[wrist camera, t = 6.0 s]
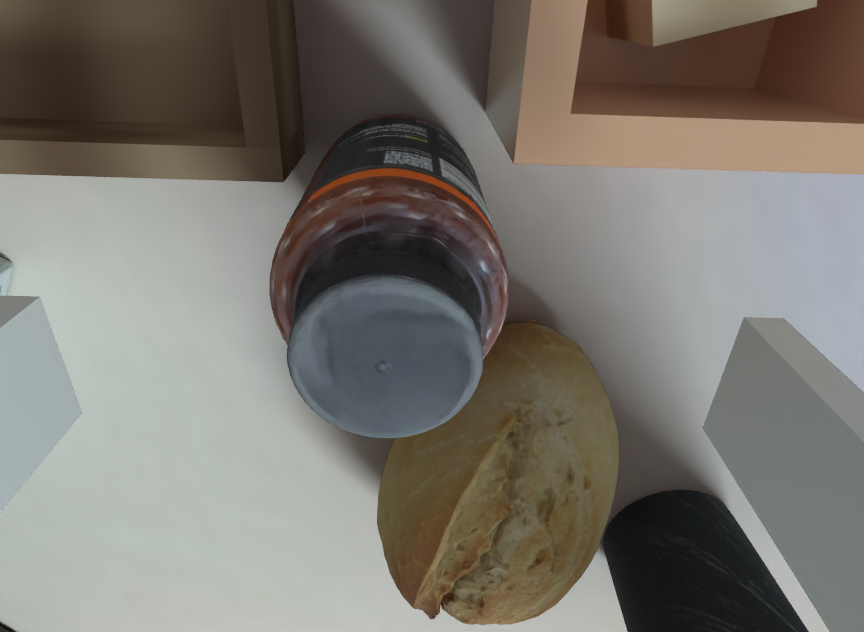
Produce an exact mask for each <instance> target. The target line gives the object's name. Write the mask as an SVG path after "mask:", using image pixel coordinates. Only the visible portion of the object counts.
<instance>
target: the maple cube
mask: <svg viewBox="0 0 864 632" xmlns="http://www.w3.org/2000/svg"><path fill="white" fill-rule="evenodd" d="M813 7H817V0H605V9H606V25H607V37H611V38H615V39H620V40H624V41H629V42H633V43H638V44H642V45H647V46H651V47H655V46H659V45H663V44H667V43H671V42H675V41H679V40H683V39H687V38H691V37H695V36H699V35H704V34H708V33H712V32H716V31H720V30H724V29H728V28H732V27H736V26H740V25H744V24H748V23H752V22H756V21H760V20H764V19H768V18H772V17H777V16H781V15H785V14H789V13H793V12H797V11H801V10H805V9H809V8H813Z"/></svg>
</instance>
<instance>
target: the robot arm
mask: <svg viewBox="0 0 864 632" xmlns="http://www.w3.org/2000/svg"><path fill="white" fill-rule="evenodd" d="M81 414H82V411H81V408H80V405H79V402H78V400H77V397H76V394H75V391H74V389H73V386H72V383H71V381H70V378H69V375H68V372H67V370H66V367H65V364H64V361H63V359H62V356H61V353H60V351H59V348H58V345H57V342H56V340H55V337H54V334H53V331H52V329H51V326H50V323H49V321H48V318H47V315H46V312H45V310H44V307H43V304H42V301H41V299H40V297H30V296H0V512H1V511H2V510H3V509H4V508H5V506H6V505H7V504H8V503H9V501H10V500H11V499H12V498H13V497H14V495H15V494H16V493H17V492H18V491H19V489H20V488H21V487H22V486H23V484H24V483H25V482H26V481H27V480H28V478H29V477H30V476H31V475H32V473H33V472H34V471H35V470H36V469H37V467H38V466H39V465H40V464H41V462H42V461H43V460H44V459H45V458H46V456H47V455H48V454H49V453H50V451H51V450H52V449H53V448H54V447H55V445H56V444H57V443H58V442H59V440H60V439H61V438H62V437H63V436H64V434H65V433H66V432H67V431H68V429H69V428H70V427H71V426H72V425H73V423H74V422H75V421H76V420H77V418H78V417H79V416H80V415H81ZM703 429H704V431H705V432H706V434H707V436H708V437H709V439H710V440H711V442H712V444H713V445H714V447H715V448H716V450H717V452H718V453H719V455H720V456H721V458H722V460H723V461H724V463H725V464H726V466H727V468H728V469H729V471H730V472H731V474H732V476H733V477H734V479H735V480H736V482H737V484H738V485H739V487H740V488H741V490H742V492H743V493H744V495H745V496H746V498H747V500H748V501H749V503H750V504H751V506H752V508H753V509H754V511H755V512H756V514H757V516H758V517H759V519H760V520H761V522H762V524H763V525H764V527H765V528H766V530H767V532H768V533H769V535H770V536H771V538H772V540H773V541H774V543H775V544H776V546H777V548H778V549H779V551H780V553H781V554H782V556H783V557H784V559H785V561H786V562H787V564H788V565H789V567H790V569H791V570H792V572H793V573H794V575H795V577H796V578H797V580H798V581H799V583H800V585H801V586H802V588H803V589H804V591H805V593H806V594H807V596H808V597H809V599H810V601H811V602H812V604H813V605H814V607H815V609H816V610H817V612H818V613H819V615H820V617H821V618H822V620H823V621H824V623H825V625H826V626H827V628H828V629H829V631H830V632H864V392H863V391H862V390H861V389H859V388H858V387H857V386H856V385H855V384H854V383H853V382H852V381H851V380H850V379H849V378H848V377H847V376H845V375H844V374H843V373H842V372H841V371H840V370H839V369H838V368H837V367H836V366H835V365H834V364H833V363H831V362H830V361H829V360H828V359H827V358H826V357H825V356H824V355H823V354H822V353H821V352H820V351H818V350H817V349H816V348H815V347H814V346H813V345H812V344H811V343H810V342H809V341H808V340H807V339H806V338H804V337H803V336H802V335H801V334H800V333H799V332H798V331H797V330H796V329H795V328H794V327H793V326H792V325H790V324H789V323H788V322H787V321H786V320H785V319H784V318H752V317H744V319H743V321H742V324H741V327H740V329H739V332H738V335H737V337H736V340H735V343H734V345H733V348H732V351H731V353H730V356H729V359H728V362H727V364H726V367H725V370H724V372H723V375H722V378H721V380H720V383H719V386H718V388H717V391H716V394H715V396H714V399H713V402H712V404H711V407H710V410H709V412H708V415H707V418H706V420H705V423H704V426H703ZM0 632H9V631H8V630H6V629H4V628H2V627H0Z"/></svg>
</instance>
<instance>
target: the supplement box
mask: <svg viewBox="0 0 864 632" xmlns="http://www.w3.org/2000/svg"><path fill="white" fill-rule="evenodd" d="M12 269H13V266H12V263H11V262H10V261H8V260H6V259H4V258H2V257H0V296H6V295H7V291H8V287H9V283H10V279H11V274H12Z"/></svg>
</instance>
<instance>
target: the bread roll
mask: <svg viewBox="0 0 864 632" xmlns="http://www.w3.org/2000/svg"><path fill="white" fill-rule="evenodd" d="M618 470H619V439H618V431H617V425H616V420H615V418H614V414H613V410H612V406H611V403H610V401H609V398H608V396H607V394H606V392H605V390H604V387H603V385H602V383H601V382H600V380H599V378H598V376H597V373H596V371H595V369H594V367H593V365H592V363H591V362H590V361H589V359H588V358H587V357H586V355H585V354H584V352H583V350H582V349H581V347H580V346H579V345H577V344H576V343H575V342H573V341H572V340H571V339H569V338H567V337H566V336H564V335H562V334H561V333H559V332H557V331H556V330H554V329H552V328H549V327H546V326H543V325H539V324H537V323H536V321H535V320H532V321H529V322H527V323H525V322H522V321H520V322H516V323H511V324H505V325H502V329H501V332H500V333H499V335H498V337H497V339H496V341H495V343H494V345H493V346H492V348H491V349H490V350H489V352H488V354H487V355H486V356H485V357H484V359H483V369H482V374H481V377H480V380H479V383H478V386H477V388H476V389H475V391H474V393H473V395H472V396H471V398H470V400H469V401H468V402H467V403H466V404H465V405H464V406H463V408H462V409H461V410H460V411H459V412H458V413H457V414H455V415H454V416H453V417H452V418H450V419H449V420H448V421H446V422H445V423H443V424H441V425H439V426H437V427H435V428H433V429H430V430H428V431H426V432H422V433H419V434H416V435H412V436H408V437H399V438H395V439H394V442H393V444H392V446H391V449H390V451H389V454H388V456H387V460H386V463H385V467H384V471H383V474H382V479H381V484H380V490H379V497H378V511H377V525H378V530H379V534H380V537H381V540H382V544H383V550H384V556H385V558H386V561H387V564H388V568H389V571H390V574H391V576H392V578H393V580H394V582H395V584H396V586H397V588H398V590H399V591H400V593H401V594H402V596H403V597H404V598H405V599H406V600H407V602H408V603H409V604H410V605H411V606H412V607H413V608H415V609H420V610H423V611H424V612H425V613H426V614H427V615H428V616H429V618H430V620H431V619H434V618H435V617H436V615H438V614H439V612H440V605H441V606H442V609H443V610H445V611H446V612H447V613H448V614H449V615H451V616H453V617H455V618H456V619H457V620H459V621H460V622H462V623H466V624H472V625H473V624H479V625H486V624H513V623H517V622H521V621H525V620H528V619H531V618H534V617H537V616H539V615H541V614H542V613H544V612H545V611H547V610H548V609H550V608H552V607H553V606H555V605H556V604H557V603H558V602H559V601H560V600H561V599H562V598H563V597H564V596H565V595H566V594H567V592H568V591H569V590H570V589H571V588H572V586H573V585H574V584H575V583H576V582H577V581H578V580H579V578H580V577H581V576H582V574H583V573H584V572H585V570H586V569H587V567H588V566H589V564H590V563H591V561H592V559H593V557H594V555H595V553H596V552H597V550H598V547H599V544H600V540H601V537H602V535H603V532H604V529H605V527H606V524H607V521H608V518H609V515H610V512H611V508H612V504H613V500H614V495H615V490H616V485H617V479H618Z"/></svg>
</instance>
